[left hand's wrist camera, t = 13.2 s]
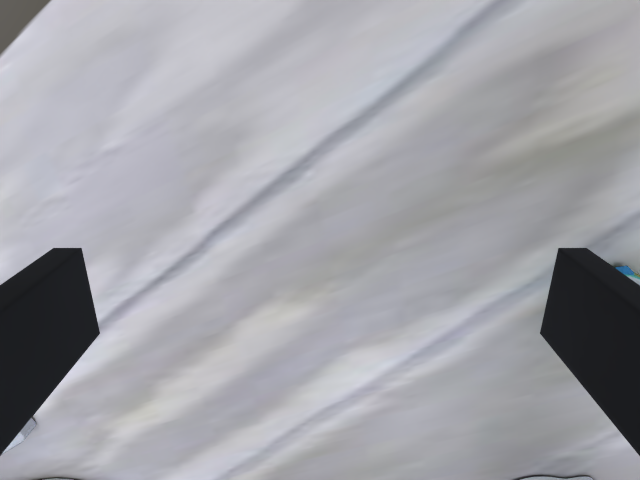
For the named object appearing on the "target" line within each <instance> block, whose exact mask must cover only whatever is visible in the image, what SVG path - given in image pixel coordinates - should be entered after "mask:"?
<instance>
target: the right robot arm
mask: <svg viewBox="0 0 640 480" xmlns="http://www.w3.org/2000/svg"><path fill="white" fill-rule="evenodd" d="M521 480H593V479H592V478H591V477H587V476H583V477H575V478H568V479H563V478H555V477H545V476H540V477H530V478H525V479H521Z"/></svg>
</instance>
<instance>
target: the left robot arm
mask: <svg viewBox="0 0 640 480" xmlns="http://www.w3.org/2000/svg"><path fill="white" fill-rule="evenodd" d="M99 334H100V332H99V327H98V322H97V318H96V313H95V308H94V304H93V299H92V295H91V290H90V285H89V281H88V276H87V271H86V267H85V262H84V258H83V253H82V248H53V249H52V250H50V251H49V252H47V253H46V254H44V255H43V256H42V257H40V258H39V259H37V260H36V261H34V262H33V263H32V264H30V265H29V266H27V267H26V268H24V269H23V270H21V271H20V272H19V273H17V274H16V275H14V276H13V277H11V278H10V279H9V280H7V281H6V282H4V283H3V284H1V285H0V456H1V454H2V453H3V452H4V451H5V449H6V448H7V447H8V446H9V445H10V443H11V442H12V441H13V440H14V438H15V437H16V436H17V435H18V433H19V432H20V431H21V430H22V429H23V427H24V426H25V425H26V424H27V422H28V421H29V420H30V419H31V417H32V416H33V415H34V414H35V413H36V411H37V410H38V409H39V408H40V406H41V405H42V404H43V403H44V401H45V400H46V399H47V398H48V397H49V395H50V394H51V393H52V392H53V390H54V389H55V388H56V387H57V386H58V384H59V383H60V382H61V381H62V379H63V378H64V377H65V376H66V374H67V373H68V372H69V371H70V370H71V368H72V367H73V366H74V365H75V363H76V362H77V361H78V360H79V358H80V357H81V356H82V355H83V354H84V352H85V351H86V350H87V349H88V347H89V346H90V345H91V344H92V342H93V341H94V340H95V339H96V338H97V336H98V335H99ZM540 334H541V335H542V336H543V338H544V339H545V340H546V341H547V342H548V344H549V345H550V346H551V347H552V349H553V350H554V351H555V352H556V354H557V355H558V356H559V357H560V358H561V360H562V361H563V362H564V363H565V365H566V366H567V367H568V368H569V370H570V371H571V372H572V373H573V374H574V376H575V377H576V378H577V379H578V381H579V382H580V383H581V384H582V386H583V387H584V388H585V389H586V390H587V392H588V393H589V394H590V395H591V397H592V398H593V399H594V400H595V401H596V403H597V404H598V405H599V406H600V408H601V409H602V410H603V411H604V413H605V414H606V415H607V416H608V417H609V419H610V420H611V421H612V422H613V424H614V425H615V426H616V427H617V429H618V430H619V431H620V432H621V433H622V435H623V436H624V437H625V438H626V440H627V441H628V442H629V443H630V445H631V446H632V447H633V448H634V449H635V451H636V452H637V453H638V454H639V456H640V285H639V284H637V283H636V282H634V281H633V280H631V279H630V278H629V277H627V276H626V275H624V274H623V273H621V272H620V271H618V270H617V269H616V268H614V267H613V266H611V265H610V264H608V263H607V262H606V261H604V260H603V259H601V258H600V257H598V256H597V255H596V254H594V253H593V252H591V251H590V250H588V249H587V248H558V253H557V258H556V262H555V267H554V271H553V276H552V281H551V285H550V290H549V295H548V299H547V304H546V308H545V313H544V318H543V322H542V327H541V332H540Z"/></svg>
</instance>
